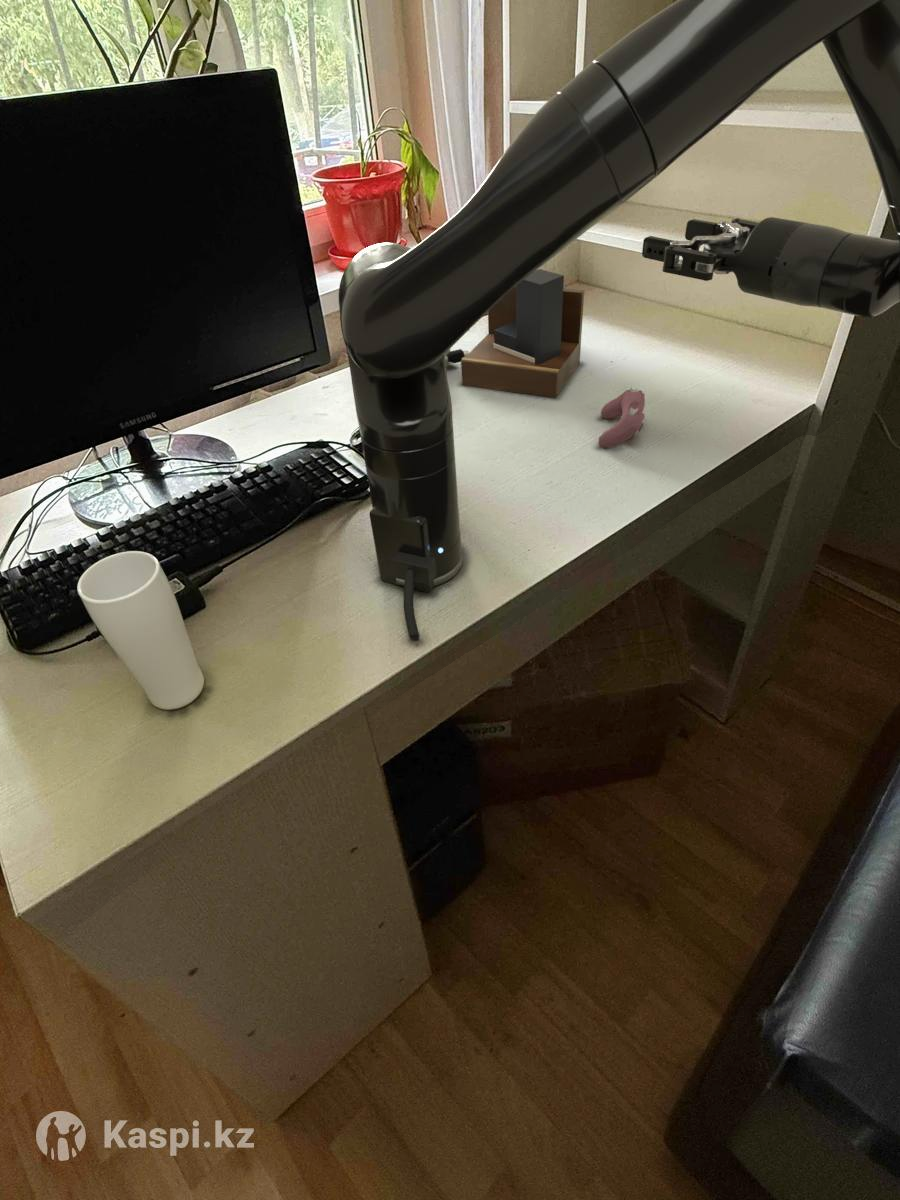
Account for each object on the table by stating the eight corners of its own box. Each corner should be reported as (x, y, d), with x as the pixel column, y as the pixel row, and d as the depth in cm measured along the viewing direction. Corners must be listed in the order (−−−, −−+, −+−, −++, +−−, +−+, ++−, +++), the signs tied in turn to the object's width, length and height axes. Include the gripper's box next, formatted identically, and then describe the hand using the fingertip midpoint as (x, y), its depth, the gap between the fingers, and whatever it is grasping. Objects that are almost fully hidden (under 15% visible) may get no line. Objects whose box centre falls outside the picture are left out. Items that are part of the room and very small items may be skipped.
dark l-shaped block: (560, 354, 109) (564, 275, 101) (538, 365, 107) (540, 284, 99) (515, 338, 115) (515, 262, 107) (493, 348, 113) (491, 270, 104)
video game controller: (623, 460, 95) (653, 420, 90) (595, 446, 94) (623, 405, 90) (624, 425, 102) (652, 386, 97) (598, 412, 101) (624, 372, 97)
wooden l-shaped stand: (555, 398, 107) (559, 320, 99) (462, 385, 112) (457, 310, 104) (579, 364, 115) (584, 290, 107) (491, 353, 121) (489, 282, 113)
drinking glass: (128, 700, 66) (58, 585, 56) (182, 656, 70) (126, 540, 60) (173, 729, 63) (108, 613, 53) (227, 681, 67) (176, 565, 57)
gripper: (839, 208, 73) (706, 189, 83) (768, 241, 67) (632, 216, 76) (818, 281, 78) (695, 255, 88) (750, 318, 72) (625, 286, 81)
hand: (666, 237), depth 82 cm, fingers open, 8 cm apart
